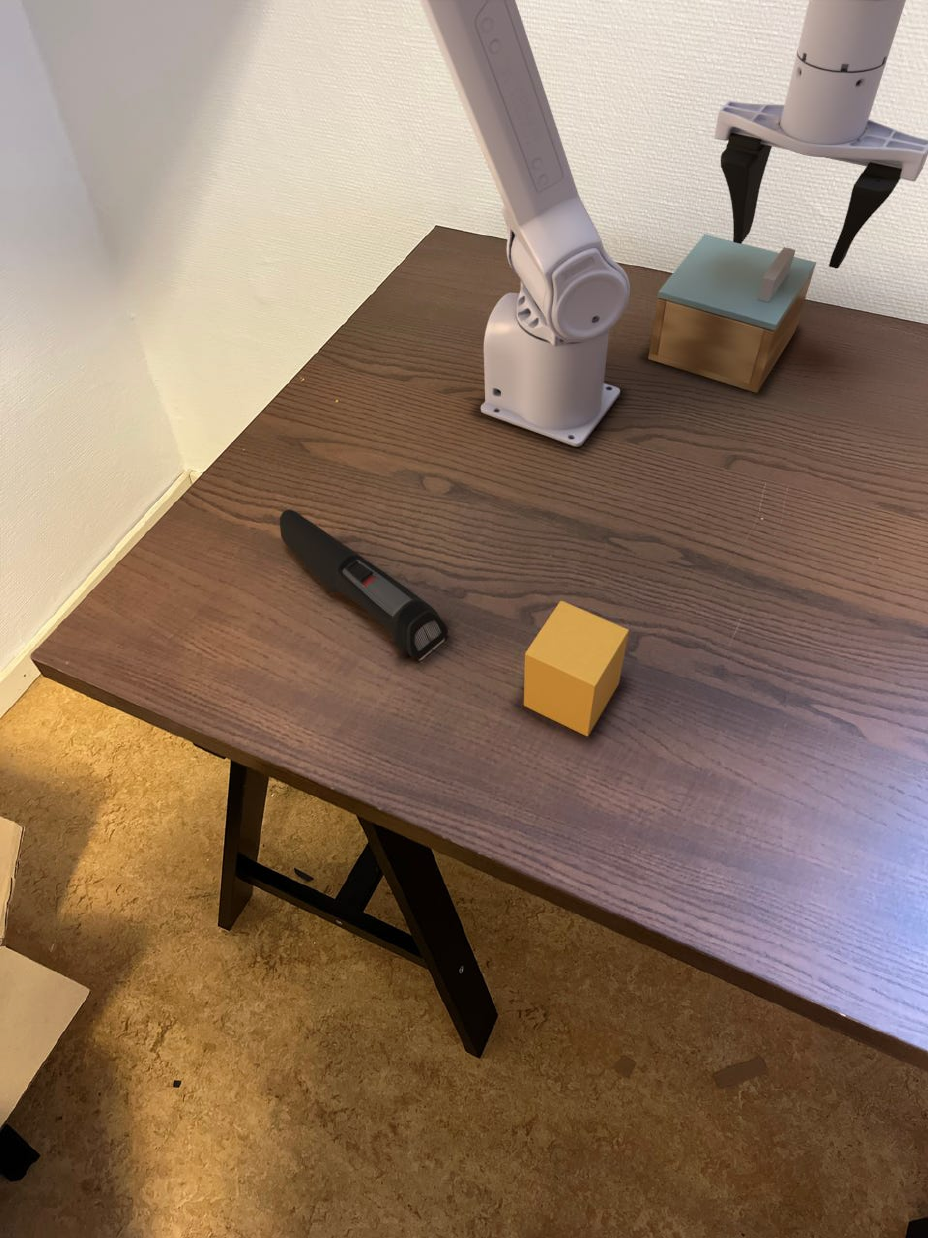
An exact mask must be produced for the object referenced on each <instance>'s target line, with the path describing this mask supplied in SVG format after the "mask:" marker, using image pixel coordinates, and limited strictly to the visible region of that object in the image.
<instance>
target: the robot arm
mask: <svg viewBox="0 0 928 1238" xmlns="http://www.w3.org/2000/svg"><path fill="white" fill-rule="evenodd" d="M906 1H907V0H808V3H807V7H806V8H807V9H806V11H805V16H804V21H803V25H802V29H801V33H800V37H799V41H798V46H797V51H796V54H795V58H794V62H793V66H792V71H791V75H790V79H789V83H788V88H787V92H786V96H785V100H784V104H770V103H749V102H740V101H734V100H728V101H727V102H726V103H725V104H724V105H723V106H722V107H721V108H720V109H719V110H718V113H717V117H716V118H717V119H716V123H715V129H714V135H713V139H716V140H719V141H724V142H727V143H726V146H725V149H724V150H723V152H721V154H720V168H721V170H722V172H723V175H724V178H725V182H726V185H727V188H728V192H729V197H730V203H731V210H732V211H731V212H732V222H733V223H732V224H733V226H732V227H733V231H732V232H733V234H732V241H733V242H735V243H739V244H741V243H742V244H743V242H745V239H746V238H747V237H748V235H750V233H751V230H752V227H753V223H754V220H755V215H756V211H757V205H758V200H759V193H760V189H761V185H762V181H763V177H764V173H765V170H766V168H767V167H766V166H767V164H768V160H769V158H770V154H771V150H772V148H773V147H774V148H777V149H783V150H786V151H790V152H793V153H796V154H799V155H803V156H807V157H813V158H824V159H829V160H834V161H839V162H844V163H848V164H853V165H857V166H862V167H865V168H864V169H863V171H862V172H861V173H860V175H859V177H858V178H857V180H856V181H855V183H854V184H853V187H852V190H851V192H850V193H851V194H850V198H849V203H848V205H847V206H848V207H847V211H846V214H845V218H844V221H843V225H842V229H841V231H840V234H839V236H838V238H837V242H836V243H835V247H834V249H833V251H832V254H831V256H830V260H829V264H828V268H833V269H839V268H840V266H841V265H842V263H843V262H844V260H845V258H846V256H847V254H848V252H849V249H850V247H851V245H852V243H853V241H854V239H855V238H856V236H857V235H858V233H859V232H860V231H861V229H862V228H863V227H864V225H865V224H866V223H867V222H868V220H869V219H870V218H871V217H872V216H873V215H874V213H876V211H877V210H878V209H879V208H880V207H881V206H882V205H883V204H884V203H885V202H886V201H887V199H888V198H889V197H890V196H891V195H892V193H893V191H894V190H895V188H896V187H897V185H898V183H899V181H900V180H906V181H910V182H916V181H917V179H918V178H919V175H920V174H921V172H922V171H923V169H924V166H925V163H926V162H927V161H926V160H927V158H928V139H926V138H921V137H917V136H914V135H910V134H909V133H905V132H902V131H900V130H897V129H895V128H892V127H889V126H886V125H884V124H881V123H879V122H877V121H873V120H871V119H870V115H871V112H872V109H873V106H874V104H875V101H876V100H875V99H876V96H877V93H878V90H879V86H880V84H881V80H882V78H883V75H884V72H885V67H886V64H887V61H888V58H889V55H890V52H891V49H892V45H893V43H894V38H895V36H896V33H897V30H898V27H899V24H900V22H901V21H900V20H901V18H902V17H901V16H902V14H903V11H904V8H905V4H906ZM419 3H420V5H421V7H422V9H423V12H424V14H425V17H426V20H427V23H428V24H429V27H430V29H431V31H432V34H433V37H434V39H435V42H436V44H437V46H438V49H439V51H440V53H441V56H442V58H443V61H444V63H445V66H446V68H447V69H448V73H449V76H450V78H451V81H452V83H453V85H454V87H455V90H456V92H457V95H458V97H459V100H460V102H461V105H462V107H463V109H464V112H465V113H466V117H467V119H468V121H469V124H470V126H471V129H472V132H473V134H474V136H475V139H476V141H477V143H478V146H479V148H480V151H481V153H482V155H483V158H484V160H485V163H486V165H487V168H488V170H489V172H490V175H491V177H492V180H493V182H494V185H495V187H496V189H497V192H498V194H499V197H500V199H501V201H502V204H503V206H502V207H501V214H502V216H503V219H504V222H505V224H506V228H507V240H506V257H507V261H508V264H509V267H510V268H511V269H512V271H513V272H514V273H515V274H516V275H517V277H519V279H520V290H519V292H508V293H506V294H504V295H503V296H502V297H501V298H500V299H499V300H498V302H497V303H496V304H495V305H494V308H493V309H492V311H491V313H490V316H489V317H488V320H487V323H486V328H485V332H484V339H483V362H484V363H483V369H484V397H485V398H484V402H483V403H482V404H481V405H480V412H481V413H482V414H484V415H486V416H490V417H493V418H495V419H498V420H501V421H504V422H507V423H509V424H511V425H514V426H517V427H520V428H523V429H526V430H529V431H531V432H533V433H537V434H540V435H543V436H545V437H548V438H550V439H552V440H556V441H558V442H560V443H561V442H562V443H564V444H567V445H569V446H572V447H581V446H583V444H584V443H585V442H586V441H587V439H588V438H589V437H590V435H591V434H592V432H593V431H594V430H595V429H596V427H597V426H598V424H599V423H600V422H601V420H602V419H603V418H604V416H605V415H606V413H608V411H609V410H610V408H611V407H612V406H613V404H614V403H615V402H616V401H617V399H618V398H619V396H620V395H621V389H620V388H619V387H617V386H615V385H612V384H608V383H605V377H606V376H605V375H606V366H607V357H608V347H609V338H610V330H611V328H612V327H614V326H615V324H617V322H618V321H619V320H620V318H621V317H622V316H623V314H624V312H625V311H626V308H627V306H628V303H629V299H630V296H631V286H630V280H629V276H628V275H627V273H626V271H625V269H624V268H623V267H622V266H620V265H619V264H618V263H617V262H616V261H615V260H614V259H613V258H612V257H611V256H610V255H609V253H608V252H607V251H606V249H605V247H604V244H603V240H602V238H601V236H600V234H599V232H598V230H597V228H596V226H595V224H594V222H593V220H592V218H591V216H590V215H589V212H588V211H587V208H586V206H585V205H584V203H583V200H582V199H581V197H580V194H579V191H578V189H577V185H576V183H575V179H574V176H573V172H572V170H571V167H570V164H569V161H568V158H567V155H566V152H565V149H564V145H563V142H562V140H561V135H560V134H559V130H558V127H557V124H556V120H555V118H554V115H553V112H552V108H551V106H550V103H549V99H548V97H547V94H546V91H545V87H544V85H543V81H542V78H541V75H540V72H539V68H538V65H537V63H536V61H535V60H536V59H535V57H534V54H533V50H532V47H531V45H530V42H529V39H528V35H527V32H526V29H525V26H524V23H523V20H522V17H521V14H520V11H519V8H518V4H517V2H516V0H419Z"/></svg>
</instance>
